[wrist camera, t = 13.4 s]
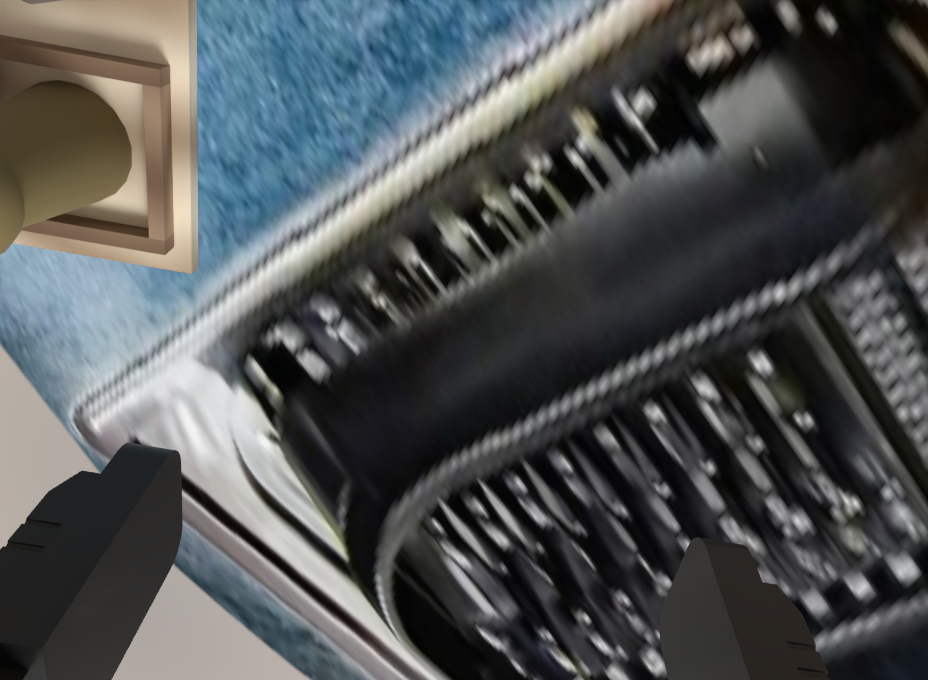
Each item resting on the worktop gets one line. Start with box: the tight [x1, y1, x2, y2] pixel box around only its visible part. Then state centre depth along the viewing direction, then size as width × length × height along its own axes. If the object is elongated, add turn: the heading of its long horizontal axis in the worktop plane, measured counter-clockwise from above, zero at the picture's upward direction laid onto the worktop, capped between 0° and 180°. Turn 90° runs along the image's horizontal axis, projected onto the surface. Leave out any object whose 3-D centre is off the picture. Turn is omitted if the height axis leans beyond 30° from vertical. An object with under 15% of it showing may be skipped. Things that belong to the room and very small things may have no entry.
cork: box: [0, 80, 132, 254], centre depth 32 cm, size 6×6×11 cm
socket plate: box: [0, 0, 198, 274], centre depth 35 cm, size 16×11×4 cm
